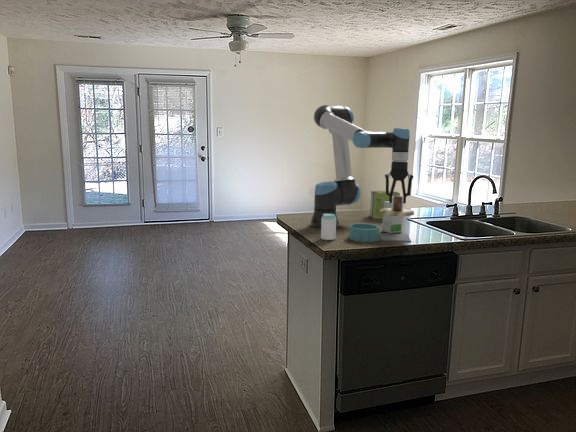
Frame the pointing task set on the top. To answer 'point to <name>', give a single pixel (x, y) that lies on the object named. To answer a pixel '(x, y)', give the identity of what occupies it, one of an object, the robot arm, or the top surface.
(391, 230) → the skincare box
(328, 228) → the can
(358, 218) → the top surface
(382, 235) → the mat
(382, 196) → the protein box
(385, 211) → the lid
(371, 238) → the bowl
